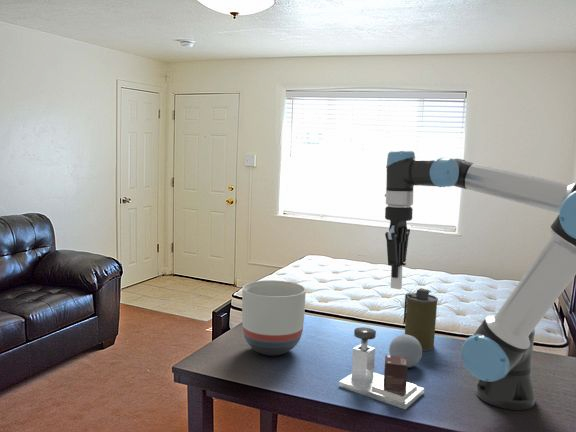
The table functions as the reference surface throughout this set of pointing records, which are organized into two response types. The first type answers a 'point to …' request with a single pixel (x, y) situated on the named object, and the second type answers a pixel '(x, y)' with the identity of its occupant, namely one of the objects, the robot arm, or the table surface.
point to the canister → (421, 317)
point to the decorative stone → (406, 349)
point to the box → (395, 373)
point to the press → (376, 381)
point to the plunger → (364, 336)
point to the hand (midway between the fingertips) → (396, 288)
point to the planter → (273, 315)
